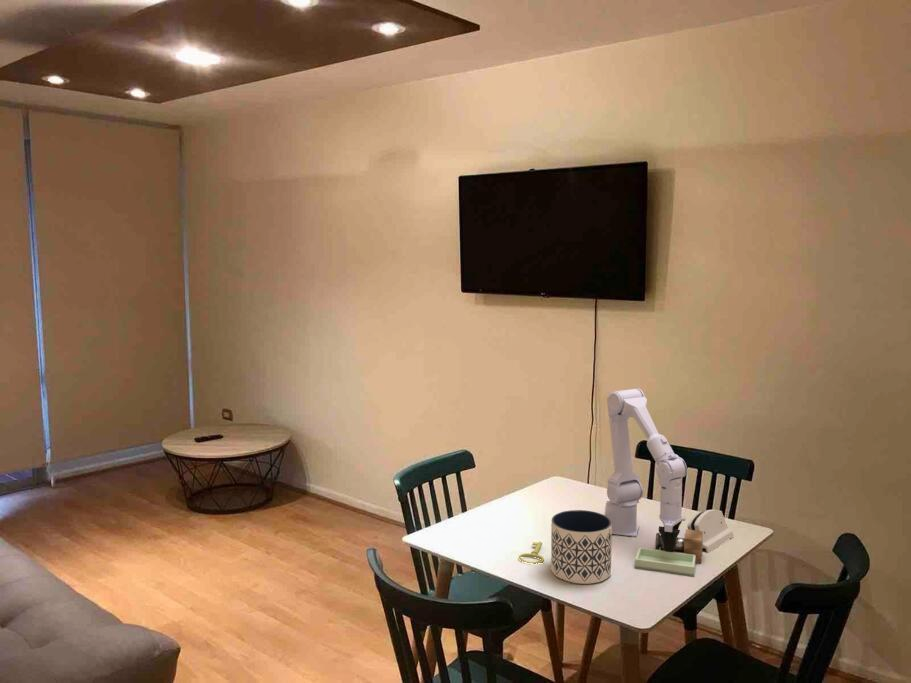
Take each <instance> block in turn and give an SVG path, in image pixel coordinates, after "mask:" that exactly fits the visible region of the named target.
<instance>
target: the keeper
mask: <svg viewBox="0 0 911 683" xmlns="http://www.w3.org/2000/svg"><path fill="white" fill-rule="evenodd" d="M683 538H684V551H677V550H674V551H673V552H677V553H685V554H692V555H696V563H695V564H699V565H700V564H702V558H703V557H702V556H703V548H702V539H703V531H696V530H688V528H687V529H685V532H684V537H683ZM659 550H662V551H665V550H664V549H662V548H659Z"/></svg>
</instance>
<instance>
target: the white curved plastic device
mask: <svg viewBox="0 0 911 683" xmlns="http://www.w3.org/2000/svg"><path fill="white" fill-rule="evenodd" d="M686 526H687V527H686V528H687V529H688V530H696V531H703V539H702V549H705V551H706V553H707V554H710V553H711V552H713V551H714V550H716V549H718V548H719V547H720V545H721V544H722V543H724V542H725V541H727V540H728V539H730V538H731V537H733V536H734V533H733V530H731V529H730V528H729V527H728V524H727V521H726V519H725V516H724V514H723V511H722V510H719V509H706V510H703V511H699V512H697V513H695V514H694V515H692V517H691V518H690V519H689V521H688V523H687V525H686ZM733 538H734V537H733ZM730 540H731V539H730ZM728 541H729V540H728ZM728 541H727V542H728ZM725 543H726V542H725ZM725 543H724V544H725ZM722 545H723V544H722ZM722 545H721V546H722ZM718 546H719V547H718Z"/></svg>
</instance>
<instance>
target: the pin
mask: <svg viewBox="0 0 911 683" xmlns="http://www.w3.org/2000/svg"><path fill="white" fill-rule="evenodd" d="M684 538H685V537H678V536H677V538H676V541H675V546H674V550H677V551H684ZM654 544H655V549H654V550H660V549H661V548H662V549H664V544H663V540H662V537H661V534H660V533H659V532H656V534H655V543H654Z"/></svg>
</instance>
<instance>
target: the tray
mask: <svg viewBox="0 0 911 683" xmlns="http://www.w3.org/2000/svg"><path fill="white" fill-rule="evenodd" d="M635 556H636V557H635V560H634V563H635V564H634V568H635V569H639V570H646V571H652V572H653V571H654V572H660V573H661V572H662V573H666V574H667V573H668V574H674V575H681V576H682V575H683V576H690V577H694V576H695V570H696V564H697V563H696V555H692V554H685V553H677V552H666V551H662V550H660V549H659V550H656V549H652V548H646V547H638V550H637V553H636V555H635Z"/></svg>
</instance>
